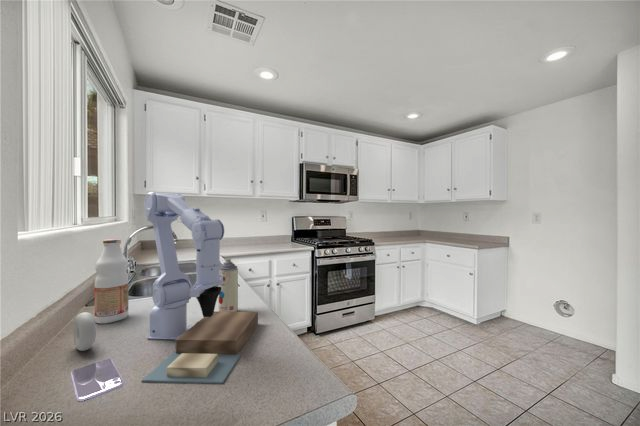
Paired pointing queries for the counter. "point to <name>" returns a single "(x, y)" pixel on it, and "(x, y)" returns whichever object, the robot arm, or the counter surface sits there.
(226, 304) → the aerosol can
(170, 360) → the slate mat
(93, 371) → the mobile phone
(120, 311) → the fruit juice
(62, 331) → the counter surface
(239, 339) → the board
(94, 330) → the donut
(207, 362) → the wooden tile
